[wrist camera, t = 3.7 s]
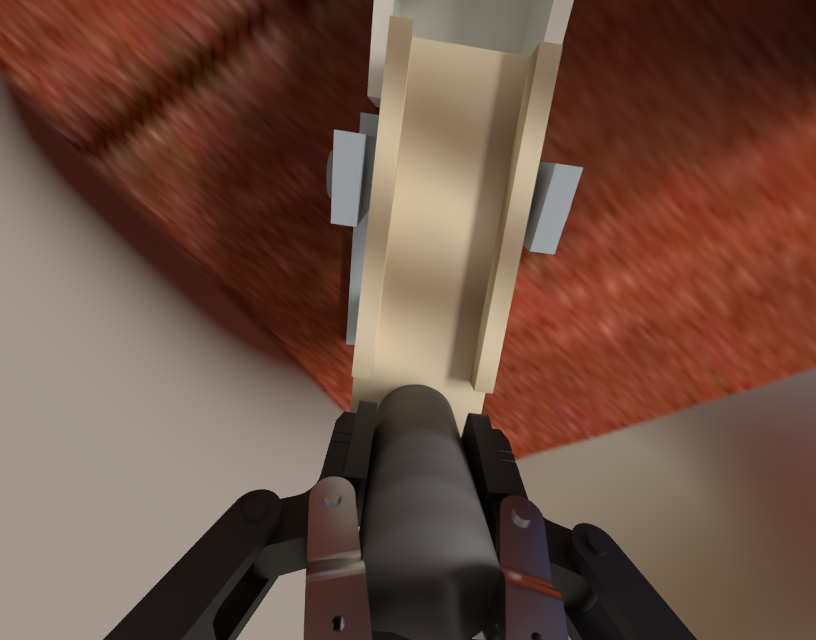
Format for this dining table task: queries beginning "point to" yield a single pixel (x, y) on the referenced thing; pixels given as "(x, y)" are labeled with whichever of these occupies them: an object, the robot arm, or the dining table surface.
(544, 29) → the gray open tray
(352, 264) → the stand
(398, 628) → the lever
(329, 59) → the dining table surface
